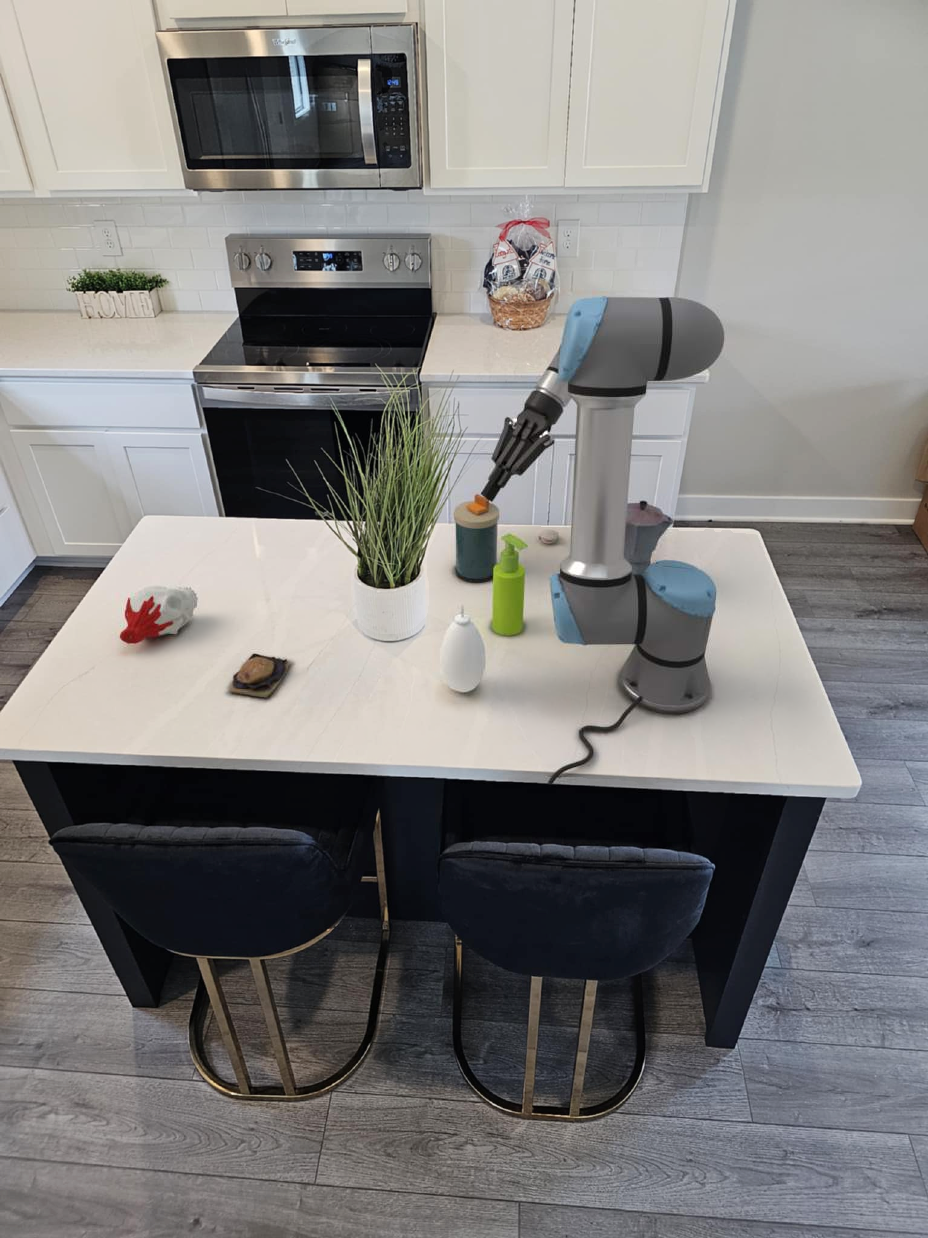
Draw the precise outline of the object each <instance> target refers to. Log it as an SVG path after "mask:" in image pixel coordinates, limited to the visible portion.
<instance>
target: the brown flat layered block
mask: <svg viewBox="0 0 928 1238" xmlns="http://www.w3.org/2000/svg"><path fill="white" fill-rule="evenodd" d="M290 666H291V662H290V661H289V660H288V659H287V658H285V659H282V658H280V657H279V658H276V657H275V656H266V655H262V654H258V653H255V652H254V653H252V654H251V656H250V657H249V658H248V659H247V660H246V661H244V663H242V666H241V667H240V670H238V671H237V672H236V673H235V674H233V675H232V684H231V686H230V687H229V693H231V694H240V695H248V696H251V697H256V698H257V697H258V698H264V699H268V698H269V697H270V695H272V693H273V692H274V691H275V690H276V689H277V687H278V686H279V685H280V683H281V682H282V680H283V679H284V676H285V675H286V674H287V671H288V670H289V668H290Z"/></svg>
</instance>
